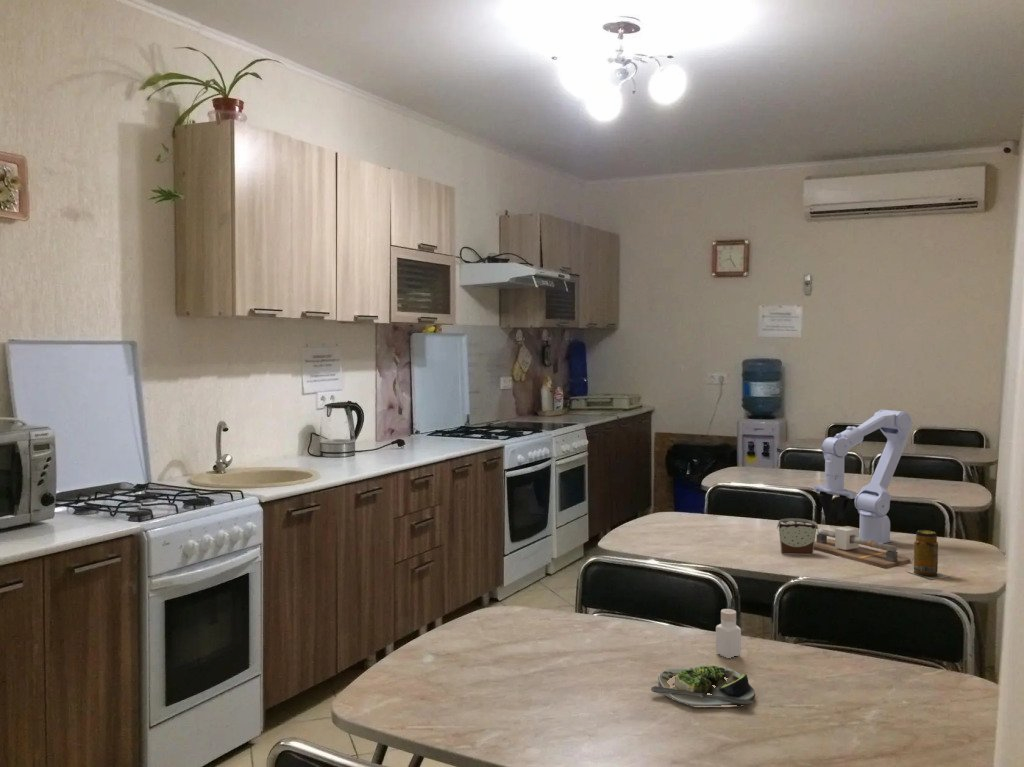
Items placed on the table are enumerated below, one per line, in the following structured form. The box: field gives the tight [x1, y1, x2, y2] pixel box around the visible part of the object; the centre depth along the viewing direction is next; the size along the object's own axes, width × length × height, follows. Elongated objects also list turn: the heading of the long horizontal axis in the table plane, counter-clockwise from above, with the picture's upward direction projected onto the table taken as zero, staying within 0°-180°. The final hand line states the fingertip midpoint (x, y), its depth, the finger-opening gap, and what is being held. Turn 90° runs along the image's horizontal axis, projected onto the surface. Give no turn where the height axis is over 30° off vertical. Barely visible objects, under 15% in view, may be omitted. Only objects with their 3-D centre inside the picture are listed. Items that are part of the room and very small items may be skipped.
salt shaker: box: [715, 608, 742, 659], centre depth 174 cm, size 4×4×10 cm
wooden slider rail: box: [813, 527, 911, 569], centre depth 254 cm, size 12×29×6 cm, turn 30°
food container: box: [776, 518, 819, 556], centre depth 257 cm, size 12×6×10 cm, turn 83°
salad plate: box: [650, 664, 756, 707], centre depth 156 cm, size 19×18×5 cm
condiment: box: [906, 529, 950, 580], centre depth 232 cm, size 7×8×12 cm
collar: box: [834, 525, 860, 550], centre depth 256 cm, size 6×4×6 cm, turn 120°
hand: (833, 517), depth 263 cm, fingers open, 4 cm apart
